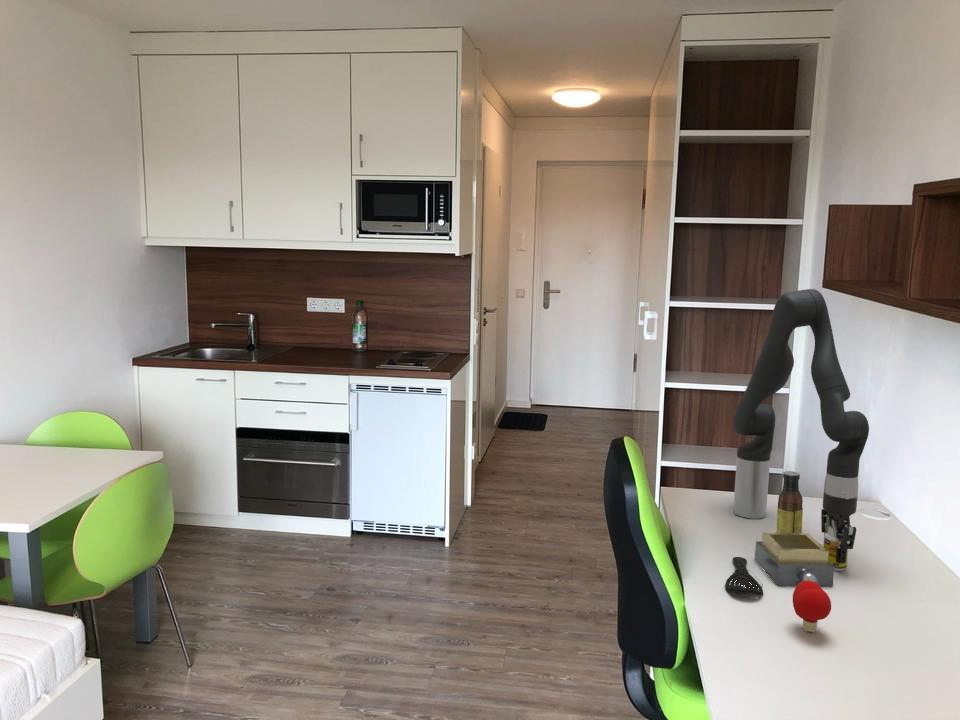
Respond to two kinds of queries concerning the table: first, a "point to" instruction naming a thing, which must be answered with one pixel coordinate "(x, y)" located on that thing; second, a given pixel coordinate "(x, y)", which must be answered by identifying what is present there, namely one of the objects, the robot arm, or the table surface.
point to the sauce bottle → (790, 505)
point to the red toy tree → (811, 604)
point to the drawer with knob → (794, 559)
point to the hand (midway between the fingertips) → (835, 557)
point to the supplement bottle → (833, 550)
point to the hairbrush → (743, 579)
